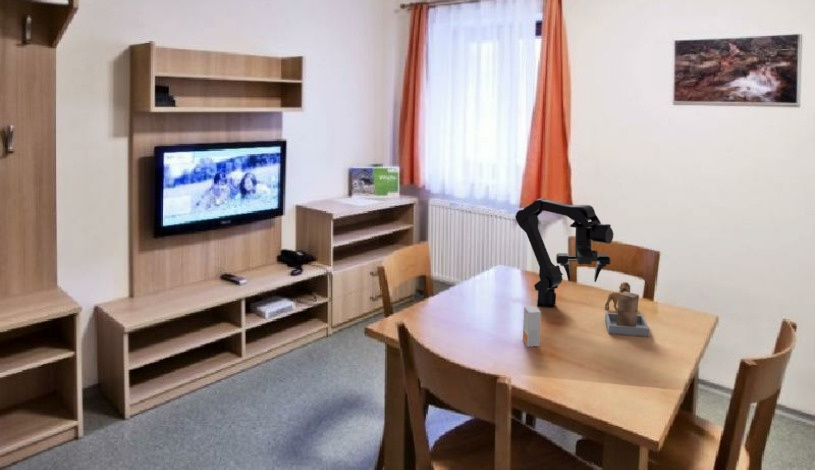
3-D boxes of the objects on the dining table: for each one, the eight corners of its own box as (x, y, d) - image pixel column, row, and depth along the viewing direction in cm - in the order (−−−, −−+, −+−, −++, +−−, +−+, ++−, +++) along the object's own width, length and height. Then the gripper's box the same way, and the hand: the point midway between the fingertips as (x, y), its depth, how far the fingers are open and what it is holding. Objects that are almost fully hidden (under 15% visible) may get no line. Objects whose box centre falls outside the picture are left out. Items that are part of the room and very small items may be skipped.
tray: (608, 333, 212) (609, 325, 211) (604, 320, 224) (605, 312, 224) (648, 337, 209) (649, 328, 209) (642, 323, 222) (643, 315, 221)
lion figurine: (619, 301, 245) (621, 279, 243) (632, 304, 241) (634, 282, 239) (601, 310, 235) (603, 287, 233) (614, 313, 231) (616, 290, 229)
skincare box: (522, 339, 207) (523, 305, 204) (534, 339, 207) (536, 305, 204) (527, 347, 201) (528, 312, 198) (539, 346, 201) (541, 312, 198)
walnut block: (616, 326, 217) (619, 294, 214) (622, 323, 220) (625, 291, 217) (629, 330, 213) (632, 297, 211) (635, 327, 216) (639, 294, 214)
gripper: (558, 244, 218) (557, 287, 221) (613, 245, 215) (611, 288, 218) (556, 238, 229) (555, 278, 232) (608, 238, 226) (607, 279, 229)
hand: (582, 281), depth 227 cm, fingers open, 9 cm apart
